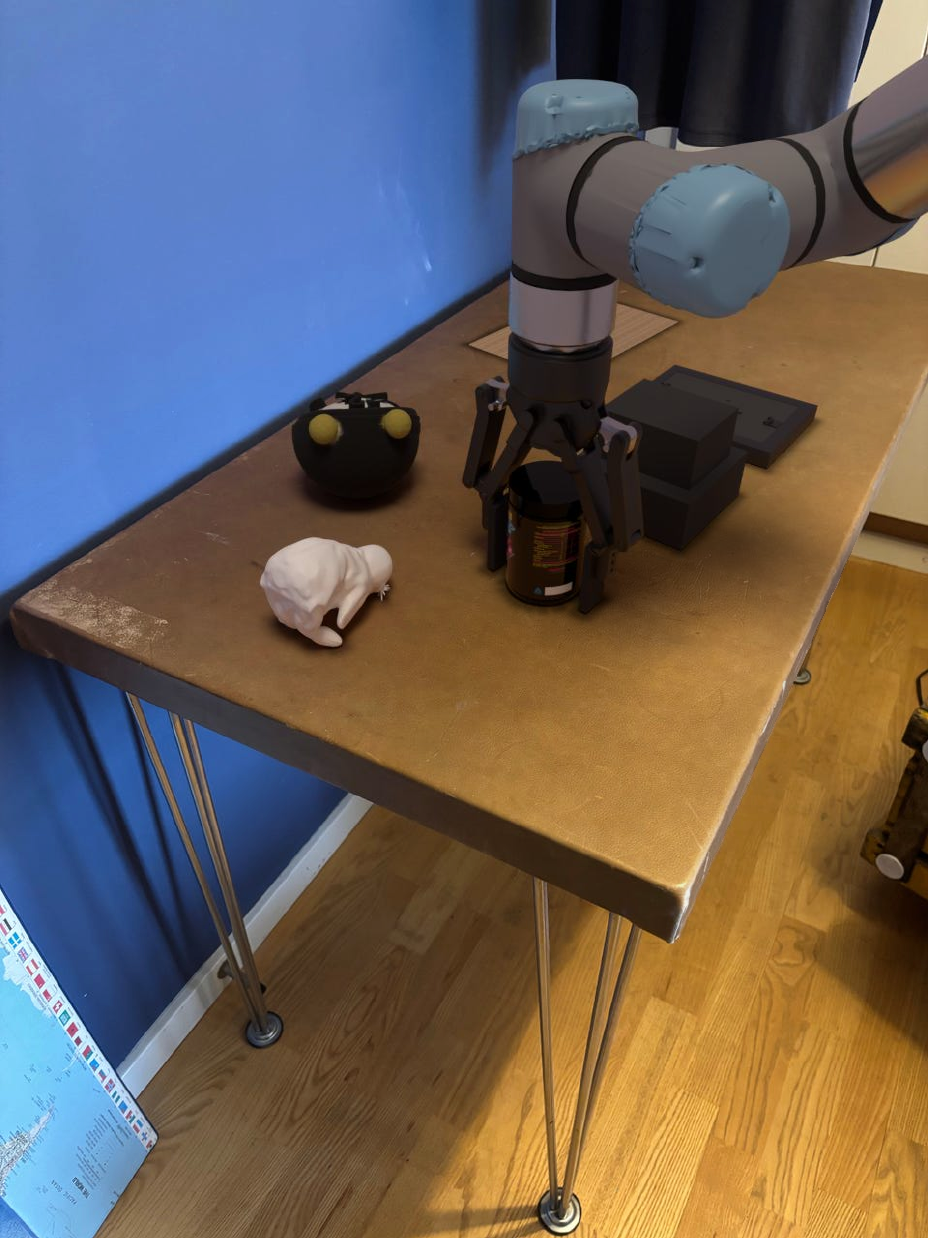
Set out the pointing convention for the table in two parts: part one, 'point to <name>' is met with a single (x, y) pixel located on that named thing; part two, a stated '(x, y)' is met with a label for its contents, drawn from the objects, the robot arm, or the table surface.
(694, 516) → the dark rectangular box
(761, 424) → the picture frame
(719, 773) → the table surface
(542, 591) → the supplement container
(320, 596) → the white clay creature
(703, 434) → the top pad
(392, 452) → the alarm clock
